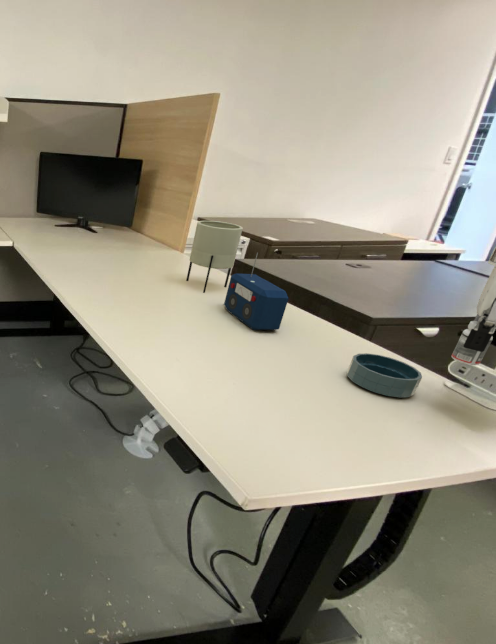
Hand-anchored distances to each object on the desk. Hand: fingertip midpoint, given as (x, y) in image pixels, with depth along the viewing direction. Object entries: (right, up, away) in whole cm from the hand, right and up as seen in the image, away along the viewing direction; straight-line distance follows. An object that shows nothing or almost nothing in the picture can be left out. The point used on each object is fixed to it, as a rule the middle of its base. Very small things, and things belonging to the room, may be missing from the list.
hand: (473, 344), depth 97 cm
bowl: (-10, -10, +13) cm, 19 cm away
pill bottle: (0, -4, +2) cm, 4 cm away
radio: (-25, +7, +48) cm, 54 cm away
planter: (-27, +21, +77) cm, 84 cm away
